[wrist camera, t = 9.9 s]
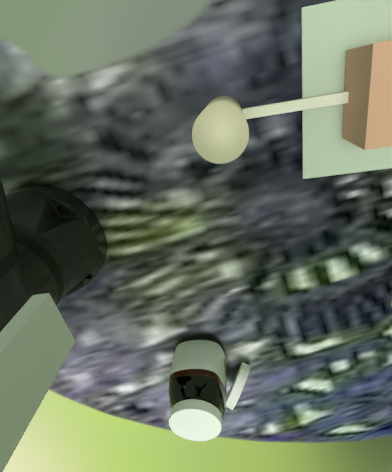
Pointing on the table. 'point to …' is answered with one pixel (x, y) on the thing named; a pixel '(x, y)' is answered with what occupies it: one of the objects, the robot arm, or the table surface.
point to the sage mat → (337, 82)
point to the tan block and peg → (354, 116)
